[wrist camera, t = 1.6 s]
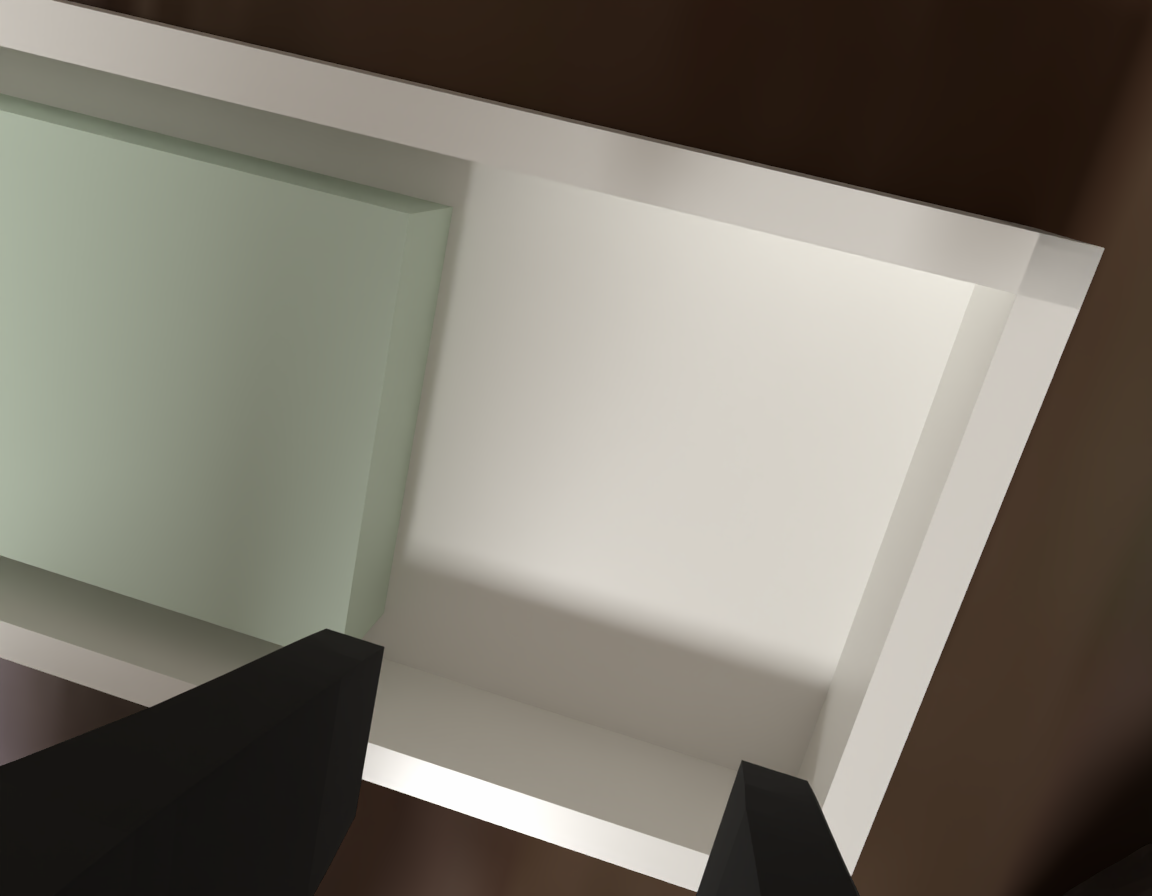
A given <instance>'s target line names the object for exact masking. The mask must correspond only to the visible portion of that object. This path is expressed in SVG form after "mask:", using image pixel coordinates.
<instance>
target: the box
mask: <svg viewBox="0 0 1152 896" xmlns="http://www.w3.org/2000/svg"><path fill="white" fill-rule="evenodd" d="M0 93H1V94H5V95H9V96H13V97H17V98H21V99H25V100H29V101H33V102H37V103H41V104H45V105H49V106H53V107H57V108H61V109H65V110H69V111H73V112H77V113H81V114H85V115H89V116H93V117H97V118H101V119H105V120H109V121H113V122H117V123H121V124H125V125H129V126H133V127H137V128H141V129H145V130H149V131H153V132H157V133H161V134H165V135H168V136H172V137H176V138H180V139H184V140H188V141H192V142H196V143H200V144H204V145H208V146H212V147H216V148H220V149H224V150H228V151H232V152H236V153H240V154H244V155H248V156H252V157H256V158H260V159H264V160H268V161H272V162H276V163H280V164H284V165H288V166H292V167H296V168H300V169H304V170H308V171H312V172H316V173H320V174H324V175H328V176H332V177H336V178H340V179H344V180H347V181H351V182H355V183H359V184H363V185H367V186H371V187H375V188H379V189H383V190H387V191H391V192H395V193H399V194H403V195H407V196H411V197H415V198H419V199H423V200H427V201H431V202H435V203H439V204H443V205H447V206H451V207H453V211H452V217H451V223H450V228H449V234H448V240H447V246H446V252H445V258H444V264H443V269H442V275H441V281H440V287H439V293H438V299H437V305H436V310H435V316H434V322H433V328H432V334H431V340H430V346H429V351H428V357H427V363H426V369H425V375H424V381H423V387H422V392H421V398H420V404H419V410H418V416H417V422H416V428H415V433H414V439H413V445H412V451H411V457H410V463H409V469H408V475H407V480H406V486H405V492H404V498H403V504H402V510H401V516H400V521H399V527H398V533H397V539H396V545H395V551H394V557H393V562H392V568H391V574H390V580H389V586H388V592H387V598H386V603H385V609H384V614H383V615H382V616H381V617H380V618H379V619H378V621H377V622H376V623H375V624H374V625H373V626H372V627H371V629H370V630H369V631H368V632H367V633H366V634H365V636H364V637H363V638H362V639H361V640H365V641H368V642H371V643H374V644H377V645H380V646H384V653H383V659H382V665H381V670H380V676H379V682H378V688H377V694H376V699H375V705H374V711H373V717H372V722H371V728H370V734H369V740H368V745H367V751H366V757H365V763H364V769H363V774H362V779H363V780H366V781H369V782H372V783H375V784H378V785H381V786H384V787H387V788H390V789H393V790H396V791H399V792H402V793H405V794H408V795H411V796H414V797H417V798H420V799H422V800H425V801H428V802H431V803H434V804H437V805H440V806H443V807H446V808H449V809H452V810H455V811H458V812H461V813H464V814H467V815H470V816H473V817H476V818H479V819H482V820H485V821H488V822H491V823H494V824H497V825H500V826H503V827H506V828H509V829H512V830H515V831H518V832H520V833H523V834H526V835H529V836H532V837H535V838H538V839H541V840H544V841H547V842H550V843H553V844H556V845H559V846H562V847H565V848H568V849H571V850H574V851H577V852H580V853H583V854H586V855H589V856H592V857H595V858H598V859H601V860H604V861H607V862H610V863H613V864H616V865H619V866H621V867H624V868H627V869H630V870H633V871H636V872H639V873H642V874H645V875H648V876H651V877H654V878H657V879H660V880H663V881H666V882H669V883H672V884H675V885H678V886H681V887H684V888H687V889H690V890H693V891H696V892H697V891H698V888H699V885H700V882H701V879H702V876H703V873H704V870H705V867H706V864H707V861H708V859H709V856H710V853H711V850H712V847H713V844H714V841H715V838H716V835H717V832H718V829H719V826H720V823H721V820H722V817H723V814H724V811H725V808H726V805H727V802H728V799H729V796H730V793H731V790H732V787H733V784H734V781H735V778H736V775H737V772H738V769H739V766H740V763H741V760H743V761H747V762H750V763H753V764H756V765H759V766H762V767H766V768H769V769H772V770H775V771H778V772H781V773H784V774H788V775H791V776H794V777H797V778H800V779H803V780H807V781H808V783H809V784H810V786H811V788H812V790H813V792H814V794H815V796H816V798H817V800H818V802H819V805H820V807H821V809H822V812H823V814H824V816H825V819H826V821H827V823H828V826H829V828H830V830H831V833H832V835H833V837H834V840H835V842H836V844H837V847H838V849H839V851H840V853H841V856H842V858H843V860H844V862H845V865H846V867H847V869H848V871H849V873H850V876H851V875H852V873H853V870H854V868H855V866H856V863H857V861H858V858H859V856H860V853H861V851H862V848H863V846H864V843H865V841H866V838H867V836H868V833H869V831H870V828H871V826H872V823H873V821H874V818H875V816H876V813H877V811H878V809H879V806H880V804H881V801H882V799H883V796H884V794H885V791H886V789H887V786H888V784H889V781H890V779H891V776H892V774H893V771H894V769H895V766H896V764H897V761H898V759H899V756H900V754H901V752H902V749H903V747H904V744H905V742H906V739H907V737H908V734H909V732H910V729H911V727H912V724H913V722H914V719H915V717H916V714H917V712H918V709H919V707H920V704H921V702H922V699H923V697H924V695H925V692H926V690H927V687H928V685H929V682H930V680H931V677H932V675H933V672H934V670H935V667H936V665H937V662H938V660H939V657H940V655H941V652H942V650H943V647H944V645H945V642H946V640H947V638H948V635H949V633H950V630H951V628H952V625H953V623H954V620H955V618H956V615H957V613H958V610H959V608H960V605H961V603H962V600H963V598H964V595H965V593H966V590H967V588H968V585H969V583H970V580H971V578H972V576H973V573H974V571H975V568H976V566H977V563H978V561H979V558H980V556H981V553H982V551H983V548H984V546H985V543H986V541H987V538H988V536H989V533H990V531H991V528H992V526H993V523H994V521H995V519H996V516H997V514H998V511H999V509H1000V506H1001V504H1002V501H1003V499H1004V496H1005V494H1006V491H1007V489H1008V486H1009V484H1010V481H1011V479H1012V476H1013V474H1014V471H1015V469H1016V466H1017V464H1018V462H1019V459H1020V457H1021V454H1022V452H1023V449H1024V447H1025V444H1026V442H1027V439H1028V437H1029V434H1030V432H1031V429H1032V427H1033V424H1034V422H1035V419H1036V417H1037V414H1038V412H1039V409H1040V407H1041V405H1042V402H1043V400H1044V397H1045V395H1046V392H1047V390H1048V387H1049V385H1050V382H1051V380H1052V377H1053V375H1054V372H1055V370H1056V367H1057V365H1058V362H1059V360H1060V357H1061V355H1062V352H1063V350H1064V348H1065V345H1066V343H1067V340H1068V338H1069V335H1070V333H1071V330H1072V328H1073V325H1074V323H1075V320H1076V318H1077V315H1078V313H1079V310H1080V308H1081V305H1082V303H1083V300H1084V298H1085V295H1086V293H1087V290H1088V288H1089V286H1090V283H1091V281H1092V278H1093V276H1094V273H1095V271H1096V268H1097V266H1098V263H1099V261H1100V258H1101V256H1102V253H1103V251H1104V248H1102V247H1099V246H1095V245H1092V244H1088V243H1085V242H1082V241H1078V240H1075V239H1071V238H1068V237H1065V236H1061V235H1058V234H1054V233H1051V232H1047V231H1044V230H1041V229H1037V228H1033V227H1029V226H1025V225H1021V224H1016V223H1012V222H1008V221H1004V220H999V219H995V218H991V217H987V216H982V215H978V214H974V213H970V212H965V211H961V210H957V209H952V208H948V207H944V206H940V205H935V204H931V203H927V202H923V201H918V200H914V199H910V198H906V197H901V196H897V195H893V194H889V193H884V192H880V191H876V190H872V189H867V188H863V187H859V186H855V185H850V184H846V183H842V182H838V181H833V180H829V179H825V178H821V177H816V176H812V175H808V174H804V173H799V172H795V171H791V170H787V169H782V168H778V167H774V166H769V165H765V164H761V163H757V162H752V161H748V160H744V159H740V158H735V157H731V156H727V155H723V154H718V153H714V152H710V151H706V150H701V149H697V148H693V147H689V146H684V145H680V144H676V143H672V142H667V141H663V140H659V139H655V138H650V137H646V136H642V135H638V134H633V133H629V132H625V131H621V130H616V129H612V128H608V127H604V126H599V125H595V124H591V123H587V122H582V121H578V120H574V119H569V118H565V117H561V116H557V115H552V114H548V113H544V112H540V111H535V110H531V109H527V108H523V107H518V106H514V105H510V104H506V103H501V102H497V101H493V100H489V99H484V98H480V97H476V96H472V95H467V94H463V93H459V92H455V91H450V90H446V89H442V88H438V87H433V86H429V85H425V84H421V83H416V82H412V81H408V80H404V79H399V78H395V77H391V76H386V75H382V74H378V73H374V72H369V71H365V70H361V69H357V68H352V67H348V66H344V65H340V64H335V63H331V62H327V61H323V60H318V59H314V58H310V57H306V56H301V55H297V54H293V53H289V52H284V51H280V50H276V49H272V48H267V47H263V46H259V45H255V44H250V43H246V42H242V41H238V40H233V39H229V38H225V37H221V36H216V35H212V34H208V33H204V32H199V31H195V30H191V29H186V28H182V27H178V26H174V25H169V24H165V23H161V22H157V21H152V20H148V19H144V18H140V17H135V16H131V15H127V14H123V13H118V12H114V11H110V10H106V9H101V8H97V7H93V6H89V5H84V4H80V3H76V2H72V1H67V0H0ZM282 647H284V646H281V645H278V644H275V643H272V642H269V641H266V640H263V639H259V638H256V637H253V636H250V635H247V634H244V633H241V632H238V631H234V630H231V629H228V628H225V627H222V626H219V625H216V624H213V623H210V622H206V621H203V620H200V619H197V618H194V617H191V616H188V615H185V614H182V613H178V612H175V611H172V610H169V609H166V608H163V607H160V606H157V605H154V604H150V603H147V602H144V601H141V600H138V599H135V598H132V597H129V596H126V595H122V594H119V593H116V592H113V591H110V590H107V589H104V588H101V587H98V586H94V585H91V584H88V583H85V582H82V581H79V580H76V579H73V578H70V577H66V576H63V575H60V574H57V573H54V572H51V571H48V570H45V569H42V568H38V567H35V566H32V565H29V564H26V563H23V562H20V561H17V560H13V559H10V558H7V557H4V556H1V555H0V657H1V658H4V659H7V660H10V661H13V662H16V663H19V664H22V665H25V666H28V667H30V668H33V669H36V670H39V671H42V672H45V673H48V674H51V675H54V676H57V677H60V678H63V679H66V680H69V681H72V682H75V683H78V684H81V685H84V686H87V687H90V688H93V689H96V690H99V691H102V692H105V693H108V694H111V695H114V696H117V697H120V698H123V699H126V700H128V701H131V702H134V703H137V704H140V705H143V706H146V707H152V706H154V705H156V704H158V703H161V702H163V701H165V700H168V699H170V698H172V697H174V696H177V695H179V694H181V693H183V692H186V691H188V690H190V689H192V688H195V687H197V686H199V685H201V684H204V683H206V682H208V681H210V680H213V679H215V678H217V677H219V676H222V675H224V674H226V673H228V672H230V671H233V670H235V669H237V668H239V667H241V666H243V665H246V664H248V663H250V662H252V661H254V660H256V659H259V658H261V657H263V656H265V655H267V654H269V653H271V652H274V651H276V650H278V649H280V648H282Z"/></svg>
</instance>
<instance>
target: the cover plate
mask: <svg viewBox="0 0 1152 896" xmlns="http://www.w3.org/2000/svg"><path fill="white" fill-rule="evenodd" d="M452 211H453V207H451V206H447V205H443V204H439V203H435V202H431V201H427V200H423V199H419V198H415V197H411V196H407V195H403V194H399V193H395V192H391V191H387V190H383V189H379V188H375V187H371V186H367V185H363V184H359V183H355V182H351V181H347V180H344V179H340V178H336V177H332V176H328V175H324V174H320V173H316V172H312V171H308V170H304V169H300V168H296V167H292V166H288V165H284V164H280V163H276V162H272V161H268V160H264V159H260V158H256V157H252V156H248V155H244V154H240V153H236V152H232V151H228V150H224V149H220V148H216V147H212V146H208V145H204V144H200V143H196V142H192V141H188V140H184V139H180V138H176V137H172V136H168V135H165V134H161V133H157V132H153V131H149V130H145V129H141V128H137V127H133V126H129V125H125V124H121V123H117V122H113V121H109V120H105V119H101V118H97V117H93V116H89V115H85V114H81V113H77V112H73V111H69V110H65V109H61V108H57V107H53V106H49V105H45V104H41V103H37V102H33V101H29V100H25V99H21V98H17V97H13V96H9V95H5V94H1V93H0V555H1V556H4V557H7V558H10V559H13V560H17V561H20V562H23V563H26V564H29V565H32V566H35V567H38V568H42V569H45V570H48V571H51V572H54V573H57V574H60V575H63V576H66V577H70V578H73V579H76V580H79V581H82V582H85V583H88V584H91V585H94V586H98V587H101V588H104V589H107V590H110V591H113V592H116V593H119V594H122V595H126V596H129V597H132V598H135V599H138V600H141V601H144V602H147V603H150V604H154V605H157V606H160V607H163V608H166V609H169V610H172V611H175V612H178V613H182V614H185V615H188V616H191V617H194V618H197V619H200V620H203V621H206V622H210V623H213V624H216V625H219V626H222V627H225V628H228V629H231V630H234V631H238V632H241V633H244V634H247V635H250V636H253V637H256V638H259V639H263V640H266V641H269V642H272V643H275V644H278V645H281V646H284V647H285V646H287V645H289V644H291V643H293V642H296V641H298V640H300V639H302V638H305V637H307V636H309V635H311V634H314V633H316V632H319V631H321V630H324V629H326V628H327V629H330V630H333V631H336V632H339V633H343V634H346V635H349V636H352V637H355V638H358V639H362V638H363V637H364V636H365V634H366V633H367V632H368V631H369V630H370V629H371V627H372V626H373V625H374V624H375V623H376V622H377V621H378V619H379V618H380V617H381V616H382V615H383V614H384V609H385V603H386V598H387V592H388V586H389V580H390V574H391V568H392V562H393V557H394V551H395V545H396V539H397V533H398V527H399V521H400V516H401V510H402V504H403V498H404V492H405V486H406V480H407V475H408V469H409V463H410V457H411V451H412V445H413V439H414V433H415V428H416V422H417V416H418V410H419V404H420V398H421V392H422V387H423V381H424V375H425V369H426V363H427V357H428V351H429V346H430V340H431V334H432V328H433V322H434V316H435V310H436V305H437V299H438V293H439V287H440V281H441V275H442V269H443V264H444V258H445V252H446V246H447V240H448V234H449V228H450V223H451V217H452Z"/></svg>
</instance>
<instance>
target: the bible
mask: <svg viewBox="0 0 1152 896" xmlns="http://www.w3.org/2000/svg"><path fill="white" fill-rule="evenodd" d="M1063 896H1152V843H1151V844H1148V845H1146V846H1143V847H1141V848H1140V849H1138V850H1137V851H1135V852H1133V853H1132V854H1130V855H1129V856H1127V857H1126V858H1124V859H1122V860H1120V861H1119V862H1117V863H1115V864H1113V865H1111V866H1109V867H1108V868H1106V869H1104V870H1102V871H1101V872H1099V873H1097V874H1096V875H1094V876H1092V877H1091V878H1089V879H1087V880H1086V881H1084V882H1082V883H1080V884H1079V885H1077V886H1075V887H1074V888H1072V889H1070V890H1069V891H1067V892H1066V893H1065V894H1064V895H1063Z"/></svg>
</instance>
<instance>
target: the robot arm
mask: <svg viewBox="0 0 1152 896" xmlns="http://www.w3.org/2000/svg"><path fill="white" fill-rule="evenodd" d="M383 653H384V646H380V645H377V644H374V643H371V642H368V641H365V640H361V639H358V638H355V637H352V636H349V635H346V634H343V633H339V632H336V631H333V630H330V629H327V628H326V629H324V630H321V631H319V632H316V633H314V634H311V635H309V636H307V637H305V638H302V639H300V640H298V641H296V642H293V643H291V644H289V645H287V646H285V647H282V648H280V649H278V650H276V651H274V652H271V653H269V654H267V655H265V656H263V657H261V658H259V659H256V660H254V661H252V662H250V663H248V664H246V665H243V666H241V667H239V668H237V669H235V670H233V671H230V672H228V673H226V674H224V675H222V676H219V677H217V678H215V679H213V680H210V681H208V682H206V683H204V684H201V685H199V686H197V687H195V688H192V689H190V690H188V691H186V692H183V693H181V694H179V695H177V696H174V697H172V698H170V699H168V700H165V701H163V702H161V703H158V704H156V705H154V706H152V707H149V708H147V709H145V710H143V711H140V712H138V713H135V714H133V715H130V716H128V717H125V718H123V719H120V720H118V721H115V722H113V723H110V724H108V725H105V726H102V727H100V728H97V729H95V730H92V731H90V732H87V733H85V734H82V735H80V736H77V737H75V738H72V739H69V740H67V741H64V742H62V743H59V744H57V745H54V746H52V747H49V748H47V749H44V750H41V751H39V752H36V753H34V754H31V755H29V756H26V757H24V758H21V759H19V760H16V761H13V762H10V763H8V764H5V765H2V766H0V896H313V895H314V893H315V892H316V890H317V888H318V886H319V884H320V882H321V881H322V879H323V877H324V875H325V873H326V871H327V870H328V868H329V866H330V864H331V862H332V860H333V858H334V856H335V854H336V852H337V850H338V848H339V847H340V845H341V843H342V841H343V839H344V837H345V835H346V833H347V831H348V829H349V827H350V825H351V823H352V821H353V820H354V818H355V815H356V809H357V803H358V797H359V792H360V786H361V780H362V774H363V769H364V763H365V757H366V751H367V745H368V740H369V734H370V728H371V722H372V717H373V711H374V705H375V699H376V694H377V688H378V682H379V676H380V670H381V665H382V659H383ZM696 896H860V895H859V893H858V891H857V889H856V886H855V884H854V882H853V880H852V878H851V876H850V873H849V871H848V869H847V867H846V865H845V862H844V860H843V858H842V856H841V853H840V851H839V849H838V847H837V844H836V842H835V840H834V837H833V835H832V833H831V830H830V828H829V826H828V823H827V821H826V819H825V816H824V814H823V812H822V809H821V807H820V805H819V802H818V800H817V798H816V796H815V794H814V792H813V790H812V788H811V786H810V784H809V783H808V781H807V780H803V779H800V778H797V777H794V776H791V775H788V774H784V773H781V772H778V771H775V770H772V769H769V768H766V767H762V766H759V765H756V764H753V763H750V762H747V761H743V760H741V763H740V766H739V769H738V772H737V775H736V778H735V781H734V784H733V787H732V790H731V793H730V796H729V799H728V802H727V805H726V808H725V811H724V814H723V817H722V820H721V823H720V826H719V829H718V832H717V835H716V838H715V841H714V844H713V847H712V850H711V853H710V856H709V859H708V861H707V864H706V867H705V870H704V873H703V876H702V879H701V882H700V885H699V888H698V891H697V894H696Z"/></svg>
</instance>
